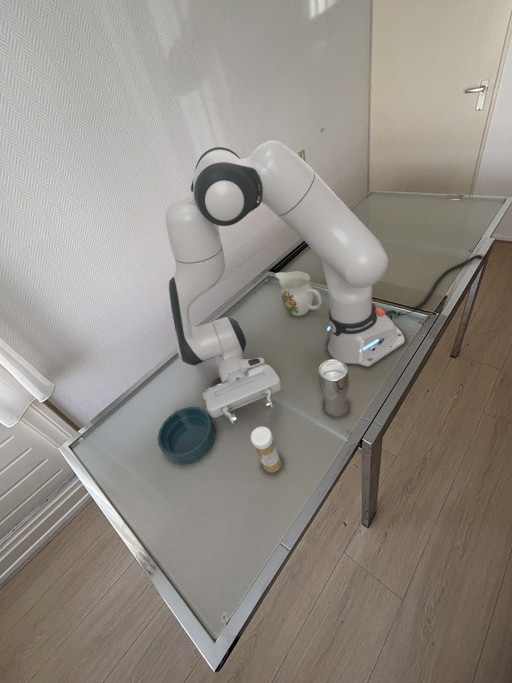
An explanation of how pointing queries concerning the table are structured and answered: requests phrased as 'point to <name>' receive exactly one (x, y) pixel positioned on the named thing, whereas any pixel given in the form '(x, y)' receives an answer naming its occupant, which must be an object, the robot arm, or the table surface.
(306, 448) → the table surface
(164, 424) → the bowl
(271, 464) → the sprinkles bottle
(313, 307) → the pitcher
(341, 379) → the silver metal tumbler
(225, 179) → the robot arm
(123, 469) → the table surface
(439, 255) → the table surface
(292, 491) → the table surface
